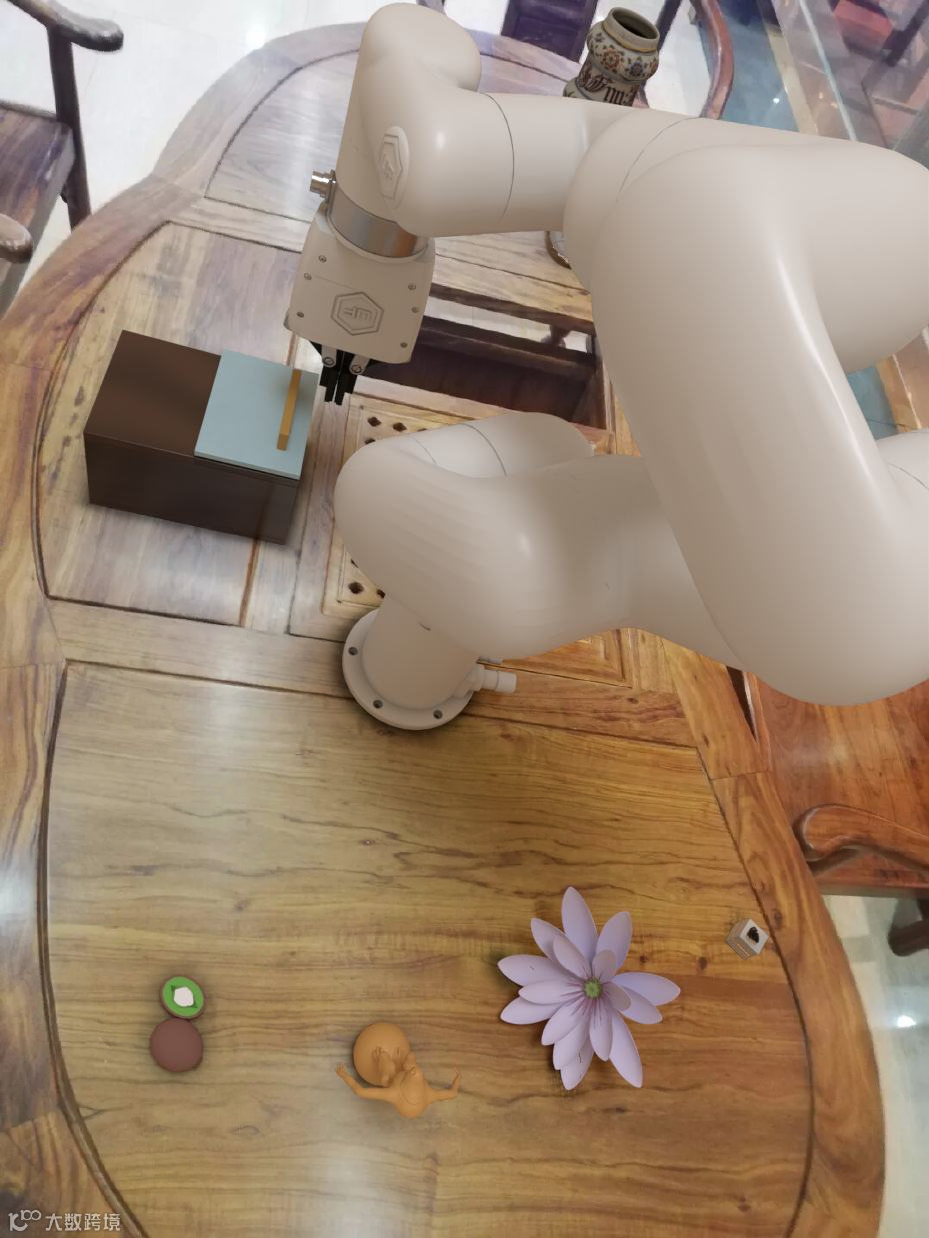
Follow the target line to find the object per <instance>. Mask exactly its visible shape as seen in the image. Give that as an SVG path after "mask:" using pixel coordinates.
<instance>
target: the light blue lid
mask: <svg viewBox="0 0 929 1238" xmlns="http://www.w3.org/2000/svg"><path fill="white" fill-rule="evenodd" d="M319 380H320V374H319V373H317V372H313V371H309V370H305V369H302V368H298V367H294V366H290V365H287V364H283V363H278V362H275V361H272V360H268V359H265V358H260V357H258V356H257V357H256V356H252V355H249V354H247V353H246V354H245V353H242V352H238V351H234V350H231V349H227V348H223V349H222V352H221V359H220V363H219V366H218V370H217V373H216V377H215V380H214V384H213V387H212V391H211V394H210V398H209V402H208V405H207V409H206V412H205V416H204V419H203V423H202V426H201V430H200V433H199V437H198V440H197V444H196V447H195V452H194V455H196V456H200V457H204V458H209V459H213V460H217V461H221V462H226V463H230V464H234V465H238V466H243V467H247V468H251V469H255V470H260V471H264V472H268V473H272V474H277V475H281V476H285V477H289V478H294V479H298V480H299V481H300V478H301V473H302V469H303V468H302V467H303V462H304V457H305V451H306V446H307V442H308V437H309V431H310V426H311V420H312V415H313V410H314V406H315V405H314V404H315V400H316V394H317V390H318V385H319Z"/></svg>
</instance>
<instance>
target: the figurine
mask: <svg viewBox="0 0 929 1238" xmlns="http://www.w3.org/2000/svg"><path fill="white" fill-rule="evenodd" d="M352 1055H353V1063H354V1066H355V1069H356V1071H357V1073H358V1074H359V1076H360V1077H361V1078H362V1079H363V1080H364V1081H366V1082H367V1083H369V1084H372V1085H374V1086H382V1087H363V1086H362V1085H361V1084H360V1083H358V1082H357V1081H356V1080H355V1078H354V1077H352V1075H350V1074H348V1073H347V1072H346V1067H347V1063H346V1062H345V1063H344V1065H342V1062H341V1061H340V1062H339V1065H338V1064H337V1065H336V1069H335V1070H334V1071H335V1074H336V1075H337V1076H338V1077H340V1078H342V1080H343V1081H344V1083H345V1084H346V1085H347V1086H348V1087H349V1088H350V1089H351V1090H352V1091H353V1093H354V1094H355V1095H356V1096H357V1097H359V1098H364V1099H370V1100H377V1101H378V1100H379V1101H384V1102H387V1103H390V1104H392V1106H393V1108H394V1109H395V1110H396V1112H397V1113H398V1114H399V1115H400V1116H401V1117H403V1118H405V1119H407V1120H408V1119H409V1120H413V1119H416V1118H419V1117H420V1116H421V1115H422V1114H423V1113H424V1112H425V1111H426V1109H427V1107H428V1106H429V1105H430V1104H434V1103H436V1102H442V1101H449V1100H453V1099H456V1098H457V1096H458V1093H459V1088H460V1085H461V1083H462V1078H463V1077H462V1073H461V1071H460V1068H459V1067H458V1066H457V1065H454V1066H453V1070H454V1071H455V1073H456V1076H455V1078H454V1079H453V1080H452V1085H451V1087H450V1089H448V1088H437V1089H436V1088H433V1087H432V1086H431V1085H430V1084H429V1082H428V1080H427V1079H426V1078H425V1076H424V1072H423V1071H422V1070H423V1069H422V1068H421V1067H419V1065H418V1063H417V1060H416V1054H415V1053H414V1052H413V1051H411V1046H410V1042H409V1039H408V1037H407V1035H406V1034H405V1032H404V1030H403V1029H401V1028H400V1027H399V1026H398V1025H396V1024H394V1023H392V1022H388V1021H379V1022H374V1023H372V1024H370V1025H368V1026H367V1027H365V1029H363V1030H362V1031H361V1032H360V1034H359V1035H358V1037H357V1038H356V1041H355V1043H354V1047H353V1054H352Z"/></svg>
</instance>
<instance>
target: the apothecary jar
mask: <svg viewBox="0 0 929 1238" xmlns="http://www.w3.org/2000/svg"><path fill="white" fill-rule="evenodd" d="M660 38H661V35H660V31H659V30H658V28H657V26H655V25H654V24H653V23H652V22H651V21H650V20H649V19H648V18H646V17H644V16H643V15H641V14H640V13H638V12H636V11H635V10H632V9H629V8H626V7H622V6H615V7H614V6H613V7H611V8H610V10H609V11H608V13H607V15H606V17H605V18H604V19H603V20H600V21H598V22H596V23H594V24H592V26H591V27H590V28H589V29H588V32H587V34H586V38H585V41H586V42H585V43H586V49H587V50H588V52H587V55H586V57H585V60H584V62H583V64H582V66H581V68H580V71H579V73H578V74H577V76H573V78H571V79H569V80H568V82H567V83H566V84H565V85H564V88H563V90H562V96H561V97H570V98H578V99H585V100H591V101H597V102H603V103H610V104H616V105H622V106H628V107H633V104H634V102H635V99H636V97H637V95H638V92H639V90H640V88H641V86H642V84H643V82H644V81H646V80H648V79H651V78H652V77H653V76H654V75H655V74H656V72H657V71H658V68H659V65H660V56H659V52H658V50H657V49H658V44H659V42H660Z"/></svg>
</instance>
